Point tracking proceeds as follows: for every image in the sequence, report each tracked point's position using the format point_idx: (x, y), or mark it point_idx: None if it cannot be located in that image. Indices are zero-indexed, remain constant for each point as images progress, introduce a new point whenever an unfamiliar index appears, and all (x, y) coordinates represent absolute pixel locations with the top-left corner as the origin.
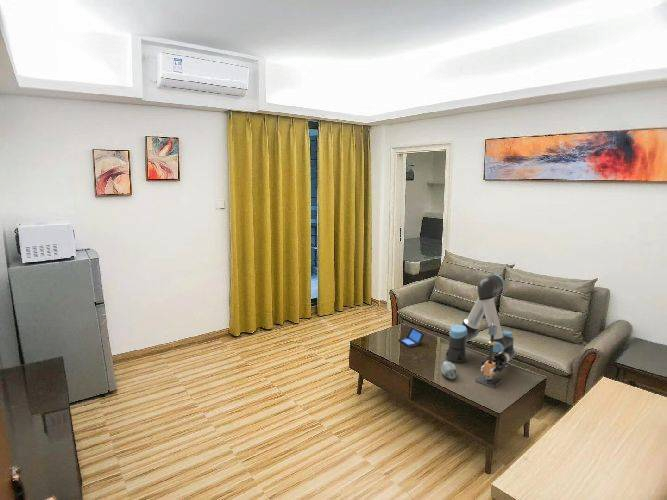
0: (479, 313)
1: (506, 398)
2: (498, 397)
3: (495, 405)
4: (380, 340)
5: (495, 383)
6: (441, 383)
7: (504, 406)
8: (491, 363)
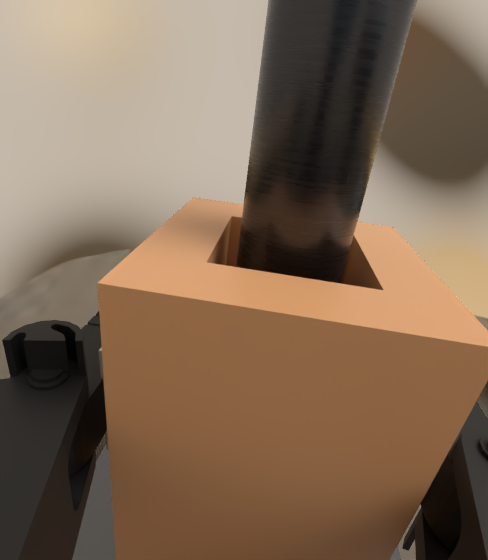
0: None
1: (13, 329)
2: (86, 320)
3: (114, 264)
4: None
5: (100, 496)
6: (482, 324)
7: (57, 269)
8: (240, 242)
